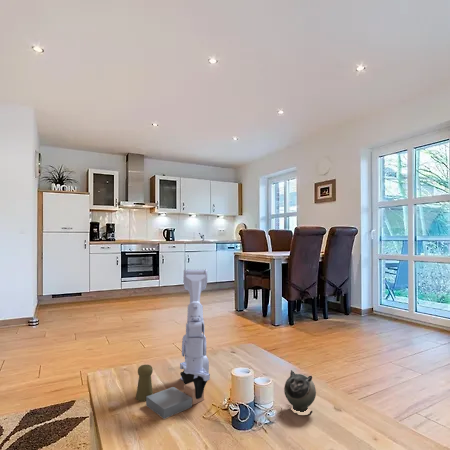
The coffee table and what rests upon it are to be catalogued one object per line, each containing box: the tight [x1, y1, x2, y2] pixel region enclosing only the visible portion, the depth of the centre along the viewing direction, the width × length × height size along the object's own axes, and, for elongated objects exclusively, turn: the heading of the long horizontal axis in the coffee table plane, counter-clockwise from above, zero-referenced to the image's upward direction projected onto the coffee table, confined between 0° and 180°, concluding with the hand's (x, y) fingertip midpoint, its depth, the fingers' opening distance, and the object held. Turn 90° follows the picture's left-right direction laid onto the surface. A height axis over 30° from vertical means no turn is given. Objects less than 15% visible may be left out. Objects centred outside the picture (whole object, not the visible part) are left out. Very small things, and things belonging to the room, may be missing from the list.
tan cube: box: [183, 382, 205, 406], centre depth 114 cm, size 5×5×5 cm
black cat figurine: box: [283, 369, 317, 412], centre depth 108 cm, size 10×12×10 cm
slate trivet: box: [145, 386, 193, 420], centre depth 109 cm, size 11×11×3 cm
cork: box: [135, 364, 154, 402], centre depth 115 cm, size 6×6×11 cm
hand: (193, 395), depth 114 cm, fingers closed on tan cube, 5 cm apart
